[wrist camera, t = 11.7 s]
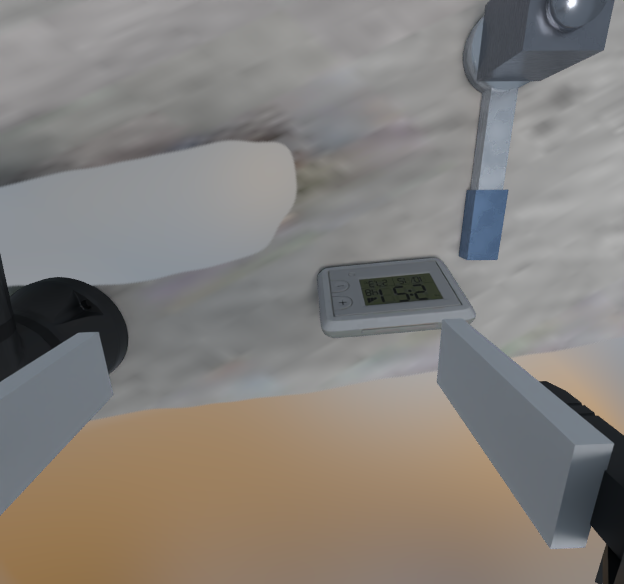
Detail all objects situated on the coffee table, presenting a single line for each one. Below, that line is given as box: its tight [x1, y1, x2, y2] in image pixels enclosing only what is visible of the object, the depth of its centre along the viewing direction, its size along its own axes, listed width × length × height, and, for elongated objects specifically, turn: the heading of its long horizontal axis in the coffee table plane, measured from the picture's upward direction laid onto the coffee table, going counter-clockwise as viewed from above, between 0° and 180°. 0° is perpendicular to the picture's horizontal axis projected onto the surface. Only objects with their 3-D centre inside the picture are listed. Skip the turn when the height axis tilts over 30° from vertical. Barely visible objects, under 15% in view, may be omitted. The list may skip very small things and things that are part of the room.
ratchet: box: [459, 16, 530, 260], centre depth 36 cm, size 8×26×6 cm, turn 0°
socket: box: [476, 0, 614, 82], centre depth 29 cm, size 6×6×9 cm
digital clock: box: [317, 258, 476, 338], centre depth 39 cm, size 16×9×11 cm, turn 84°
